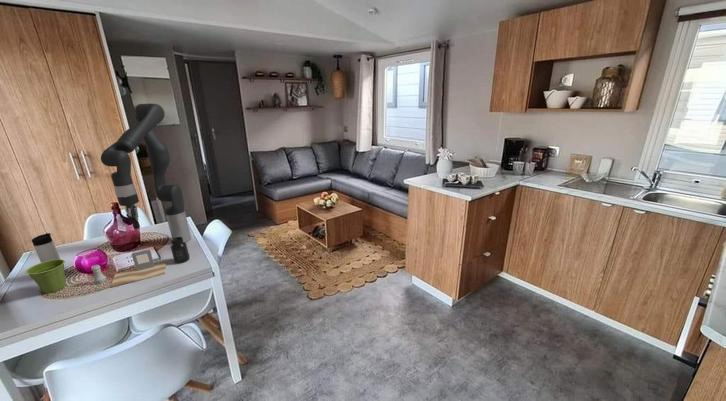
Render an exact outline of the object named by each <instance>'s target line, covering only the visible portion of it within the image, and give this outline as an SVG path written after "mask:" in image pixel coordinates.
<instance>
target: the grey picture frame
mask: <svg viewBox="0 0 726 401" xmlns="http://www.w3.org/2000/svg"><path fill="white" fill-rule="evenodd" d="M131 257H132V260H133V263H134V266H135V269H136V270H137V271H139V270H144V269H148V268H152V267H155V264H156V263H155V261H154V259H153V253H152V252H151V249H150V248H148V249H147V248H146V249H143V250H140V251H139V250H138V251H134V252H131Z"/></svg>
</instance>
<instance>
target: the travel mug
mask: <svg viewBox="0 0 726 401" xmlns="http://www.w3.org/2000/svg"><path fill="white" fill-rule="evenodd" d="M51 235H52V233H50V232H47V233H45V234H40V235H37V236H35V237H33V238H32V239H31V243H32V246H33V249H35V253H36V255H37V257H38V259H39V262H40V263H42V262H46V261H50V260H56V259H61V257H60V254H59V252H58V248H57V247H56V245H55V242H54V240H53V238H52V236H51ZM64 273H66V269H65V268H64Z"/></svg>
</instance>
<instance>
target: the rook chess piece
mask: <svg viewBox="0 0 726 401" xmlns="http://www.w3.org/2000/svg"><path fill="white" fill-rule="evenodd" d="M90 270H91V271H92V273H93V276H94V277H93V278H94V279H93V283H94V284H95V285H99V284H103V283H105V282H106V281H107V280H108V279H107V276H106V275H104V274H103V272H102V269H101V266H100V265H99V264H95V265H91V269H90Z"/></svg>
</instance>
